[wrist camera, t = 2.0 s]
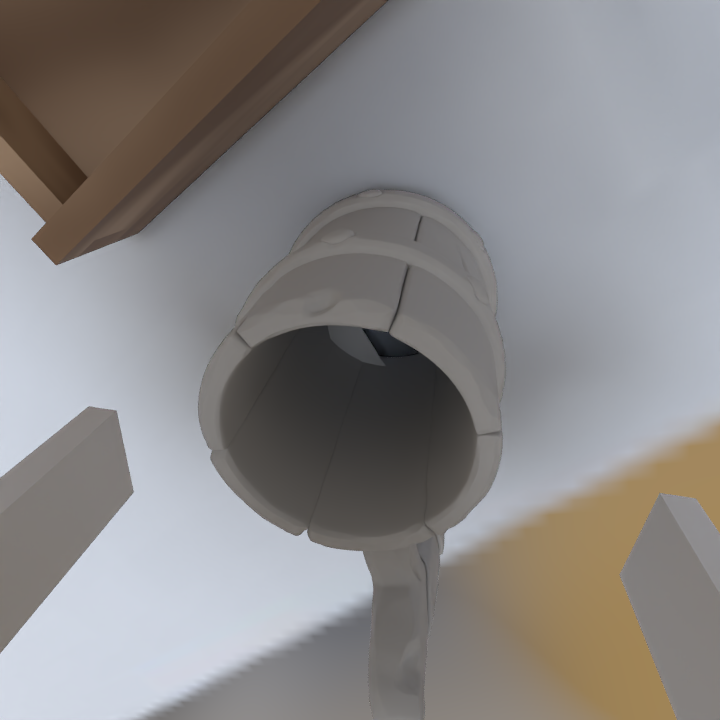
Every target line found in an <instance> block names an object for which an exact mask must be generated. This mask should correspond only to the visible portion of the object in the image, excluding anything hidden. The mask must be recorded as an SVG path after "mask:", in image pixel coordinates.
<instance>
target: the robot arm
mask: <svg viewBox="0 0 720 720" xmlns="http://www.w3.org/2000/svg"><path fill="white" fill-rule="evenodd" d="M133 492H134V491H133V486H132V482H131V477H130V472H129V467H128V463H127V458H126V453H125V448H124V444H123V439H122V434H121V429H120V425H119V420H118V415H117V411H115V410H108V409H102V408H95V407H87V408H86V409H85V410H84V411H83V412H81V413H80V414H79V415H78V416H76V417H75V418H74V419H73V420H71V421H70V422H69V423H68V424H66V425H65V426H64V427H63V428H61V429H60V430H59V431H58V432H57V433H55V434H54V435H53V436H52V437H50V438H49V439H48V440H47V441H45V442H44V443H43V444H42V445H40V446H39V447H38V448H37V449H36V450H34V451H33V452H32V453H31V454H29V455H28V456H27V457H26V458H24V459H23V460H22V461H21V462H19V463H18V464H17V465H16V466H15V467H13V468H12V469H11V470H10V471H8V472H7V473H6V474H5V475H3V476H2V477H1V478H0V653H1V652H2V651H3V649H4V648H5V647H6V646H7V645H8V643H9V642H10V641H11V640H12V639H13V637H14V636H15V635H16V634H17V633H18V631H19V630H20V629H21V628H22V626H23V625H24V624H25V623H26V622H27V620H28V619H29V618H30V617H31V616H32V614H33V613H34V612H35V611H36V610H37V608H38V607H39V606H40V605H41V604H42V602H43V601H44V600H45V599H46V597H47V596H48V595H49V594H50V593H51V591H52V590H53V589H54V588H55V587H56V585H57V584H58V583H59V582H60V581H61V579H62V578H63V577H64V576H65V575H66V573H67V572H68V571H69V570H70V569H71V567H72V566H73V565H74V564H75V562H76V561H77V560H78V559H79V558H80V556H81V555H82V554H83V553H84V552H85V550H86V549H87V548H88V547H89V546H90V544H91V543H92V542H93V541H94V540H95V538H96V537H97V536H98V535H99V533H100V532H101V531H102V530H103V529H104V527H105V526H106V525H107V524H108V523H109V521H110V520H111V519H112V518H113V517H114V515H115V514H116V513H117V512H118V511H119V509H120V508H121V507H122V506H123V504H124V503H125V502H126V501H127V500H128V498H129V497H130V496H131V495H132V494H133ZM620 577H621V580H622V582H623V584H624V587H625V589H626V592H627V595H628V597H629V600H630V602H631V605H632V607H633V610H634V612H635V615H636V617H637V620H638V622H639V625H640V627H641V630H642V632H643V635H644V637H645V640H646V643H647V645H648V648H649V650H650V652H651V655H652V658H653V660H654V663H655V665H656V668H657V670H658V672H659V675H660V678H661V680H662V683H663V685H664V688H665V690H666V693H667V695H668V698H669V700H670V703H671V705H672V708H673V710H674V713H675V715H676V718H677V720H720V534H719V532H718V530H717V529H716V527H715V526H714V525H713V523H712V522H711V520H710V519H709V517H708V516H707V514H706V513H705V511H704V510H703V508H702V507H701V505H700V504H699V503H698V501H697V500H696V499H695V498H688V497H682V496H676V495H669V494H662V493H660V494H659V496H658V498H657V500H656V502H655V504H654V506H653V508H652V510H651V512H650V514H649V516H648V518H647V520H646V522H645V524H644V526H643V528H642V530H641V533H640V535H639V537H638V539H637V541H636V543H635V545H634V547H633V549H632V551H631V553H630V555H629V557H628V559H627V561H626V563H625V565H624V567H623V569H622V571H621V573H620Z"/></svg>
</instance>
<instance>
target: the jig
mask: <svg viewBox="0 0 720 720" xmlns="http://www.w3.org/2000/svg"><path fill="white" fill-rule="evenodd" d="M387 1H388V0H0V174H1V175H2V176H3V177H4V178H5V179H6V180H7V181H8V182H9V183H10V184H11V185H12V187H13V188H14V189H15V190H16V191H17V192H18V193H19V194H20V195H21V196H22V197H23V198H24V199H25V201H26V202H27V203H28V204H29V205H30V206H31V207H32V208H33V209H34V210H35V211H36V212H37V213H38V215H39V216H40V217H41V218H42V219H43V220H44V221H45V222H46V224H45V225H44V226H43V227H42V228H41V229H40V230H39V231H38V232H37V233H36V234H35V236H34V237H33V238H32V241H33V242H34V243H35V244H36V245H37V246H38V247H39V248H40V249H41V250H42V251H43V252H44V253H45V254H46V255H47V256H48V257H49V258H50V259H51V261H52V262H53V263H54V264H55V265H58V264H61V263H63V262H66V261H69V260H71V259H74V258H76V257H79V256H81V255H84V254H86V253H89V252H92V251H94V250H97V249H99V248H102V247H104V246H107V245H109V244H112V243H115V242H117V241H120V240H122V239H125V238H127V237H130V236H132V235H135V234H138V233H139V232H140V231H141V230H142V229H143V228H144V227H145V226H146V225H147V224H148V223H149V222H151V221H152V220H153V219H154V218H155V217H156V216H157V215H158V214H159V213H160V212H161V211H162V210H163V209H165V208H166V207H167V206H168V205H169V204H170V203H171V202H172V201H173V200H174V199H175V198H176V197H177V196H178V195H180V194H181V193H182V192H183V191H184V190H185V189H186V188H187V187H188V186H189V185H190V184H191V183H192V182H194V181H195V180H196V179H197V178H198V177H199V176H200V175H201V174H202V173H203V172H204V171H205V170H206V169H207V168H209V167H210V166H211V165H212V164H213V163H214V162H215V161H216V160H217V159H218V158H219V157H220V156H221V155H223V154H224V153H225V152H226V151H227V150H228V149H229V148H230V147H231V146H232V145H233V144H234V143H235V142H236V141H238V140H239V139H240V138H241V137H242V136H243V135H244V134H245V133H246V132H247V131H248V130H249V129H250V128H251V127H253V126H254V125H255V124H256V123H257V122H258V121H259V120H260V119H261V118H262V117H263V116H264V115H265V114H267V113H268V112H269V111H270V110H271V109H272V108H273V107H274V106H275V105H276V104H277V103H278V102H279V101H280V100H282V99H283V98H284V97H285V96H286V95H287V94H288V93H289V92H290V91H291V90H292V89H293V88H294V87H296V86H297V85H298V84H299V83H300V82H301V81H302V80H303V79H304V78H305V77H306V76H307V75H308V74H309V73H311V72H312V71H313V70H314V69H315V68H316V67H317V66H318V65H319V64H320V63H321V62H322V61H323V60H325V59H326V58H327V57H328V56H329V55H330V54H331V53H332V52H333V51H334V50H335V49H336V48H337V47H338V46H340V45H341V44H342V43H343V42H344V41H345V40H346V39H347V38H348V37H349V36H350V35H351V34H352V33H354V32H355V31H356V30H357V29H358V28H359V27H360V26H361V25H362V24H363V23H364V22H365V21H366V20H367V19H369V18H370V17H371V16H372V15H373V14H374V13H375V12H376V11H377V10H378V9H379V8H380V7H381V6H383V5H384V4H385V3H386V2H387Z"/></svg>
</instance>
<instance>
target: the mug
mask: <svg viewBox="0 0 720 720" xmlns="http://www.w3.org/2000/svg"><path fill="white" fill-rule="evenodd" d="M496 311H497V282H496V277H495V273H494V270H493V266H492V263H491V261H490V258H489V256H488V253H487V251H486V249H485V247H484V244H483V241H482V239H481V237H480V236H479V234H478V233H477V232H475V231H474V230H473V229H472V228H471V227H470V226H469V225H468V224H467V223H466V222H465V221H464V220H463V219H462V218H461V217H460V216H459V215H458V214H456V213H455V212H454V211H452V210H451V209H449V208H448V207H446V206H445V205H443V204H441V203H439V202H437V201H435V200H433V199H431V198H428V197H426V196H423V195H420V194H416V193H412V192H407V191H400V190H376V189H372V190H368V191H364V192H361V193H359V194H357V195H353V196H351V197H348V198H346V199H343V200H341V201H338V202H336V203H335V204H333V205H332V206H330V207H329V208H327V209H326V210H324V211H323V212H322V213H320V214H319V215H318V216H317V217H316V218H314V219H313V220H312V221H311V222H310V223H309V225H308V226H307V227H306V228H305V229H304V230H303V231H302V233H301V234H300V235H299V237H298V238H297V240H296V241H295V243H294V245H293V247H292V249H291V251H290V253H289V255H288V256H286V257H285V258H284V259H282V260H281V261H280V262H279V263H278V264H277V265H275V266H274V267H273V268H272V269H271V270H270V271H269V272H268V273H267V274H266V275H265V276H264V277H263V278H262V279H261V280H260V281H259V282H258V283H257V285H256V286H255V288H254V289H253V291H252V292H251V294H250V295H249V297H248V299H247V301H246V303H245V304H244V306H243V308H242V310H241V312H240V313H239V314H238V316H237V319H236V322H235V327H234V328H233V330H232V331H231V332H230V333H229V334H228V335H227V337H226V338H225V339H224V340H223V341H222V343H221V344H220V345H219V347H218V348H217V350H216V351H215V353H214V355H213V356H212V358H211V360H210V362H209V364H208V366H207V368H206V371H205V373H204V376H203V379H202V383H201V387H200V392H199V401H198V415H199V422H200V426H201V430H202V434H203V436H204V438H205V440H206V443H207V445H208V447H209V448H210V449H212V453H211V457H210V458H211V461H212V463H213V465H214V466H215V468H216V470H217V471H218V473H219V474H220V476H221V477H222V478H223V480H224V481H225V482H226V484H227V485H228V486H229V487H230V488H231V489H232V491H233V492H234V493H235V494H236V495H237V496H238V497H239V498H241V499H242V500H243V501H244V502H245V503H246V504H247V505H248V506H249V507H250V508H252V509H253V510H254V511H255V512H256V513H257V514H259V515H260V516H261V517H262V518H264V519H266V520H267V521H269V522H271V523H272V524H274V525H276V526H277V527H279V528H281V529H283V530H285V531H286V532H288V533H291V534H293V535H295V536H298V535H300V534H301V533H302V532H303V531H304V530H307V529H308V530H307V533H308V537H309V539H310V540H311V541H312V542H315V543H318V544H321V545H324V546H327V547H331V548H336V549H343V550H354V551H363V554H364V557H365V560H366V563H367V566H368V569H369V571H370V573H371V576H372V581H373V600H372V617H371V634H370V647H369V664H368V687H369V702H370V708H371V713H372V717H373V720H424V716H425V701H424V683H425V667H426V657H427V640H428V638H429V635H430V632H431V628H432V623H433V617H434V611H435V604H436V596H437V591H438V574H439V567H440V555H441V554H442V553H443V550H444V533H445V532H446V531H447V530H448V529H449V528H451V527H454V526H456V525H457V524H458V523H460V522H461V521H462V520H463V519H464V518H465V517H466V516H467V515H468V514H469V513H470V511H471V510H472V509H473V508H474V507H475V506H476V505H477V504H478V503H479V502H480V501H481V500H482V499H483V498H484V497H485V496H486V494H487V493H488V491H489V489H490V488H491V486H492V483H493V481H494V479H495V476H496V474H497V471H498V467H499V464H500V459H501V453H502V428H501V414H500V405H499V404H500V401H501V398H502V394H503V390H504V384H505V374H506V364H505V353H504V347H503V340H502V337H501V334H500V330H499V327H498V323H497V321H496V318H495V316H496ZM362 328H366V329H372V330H378V331H384V332H389V333H390V335H391V336H393V337H394V338H396V339H398V340H400V341H401V342H403V343H405V344H407V345H409V346H411V347H412V348H414V349H415V350H417V351H419V352H420V353H418V354H415V355H411V356H402V357H385V356H379V355H378V353H377V352H376V350H375V349H374V347H373V345H372V344H371V342H370V341H369V339H368V338H367V336H366V334H365V333H364V331H363V330H362Z"/></svg>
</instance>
